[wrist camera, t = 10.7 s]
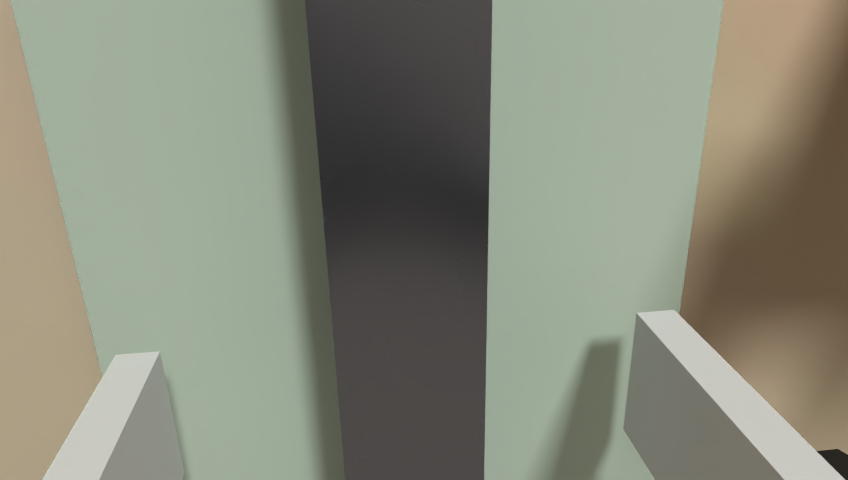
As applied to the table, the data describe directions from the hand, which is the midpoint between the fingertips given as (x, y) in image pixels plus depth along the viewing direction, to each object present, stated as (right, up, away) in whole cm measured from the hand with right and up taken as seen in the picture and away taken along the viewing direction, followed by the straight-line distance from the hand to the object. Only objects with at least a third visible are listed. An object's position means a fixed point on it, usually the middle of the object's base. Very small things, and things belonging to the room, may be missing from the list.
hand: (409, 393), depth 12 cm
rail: (0, 0, +1) cm, 1 cm away
